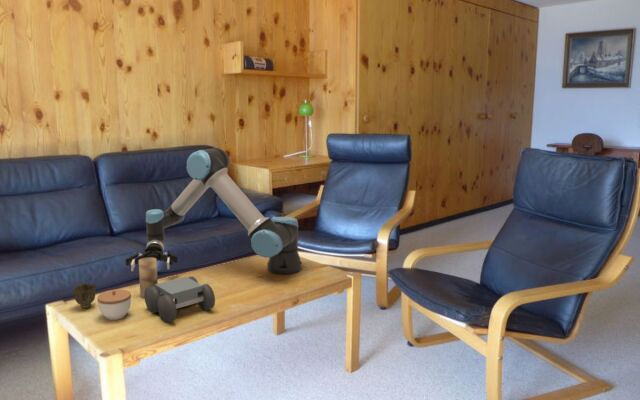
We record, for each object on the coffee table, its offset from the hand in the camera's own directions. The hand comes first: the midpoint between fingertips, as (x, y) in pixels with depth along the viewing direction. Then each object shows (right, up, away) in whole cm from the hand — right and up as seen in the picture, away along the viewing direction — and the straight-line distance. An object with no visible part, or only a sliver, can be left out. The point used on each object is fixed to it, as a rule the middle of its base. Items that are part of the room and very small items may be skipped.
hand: (150, 266), depth 208 cm
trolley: (+17, -13, -20) cm, 30 cm away
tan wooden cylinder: (+2, -10, -7) cm, 12 cm away
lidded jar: (-4, -14, -26) cm, 30 cm away
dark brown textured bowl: (-17, -12, -19) cm, 28 cm away
